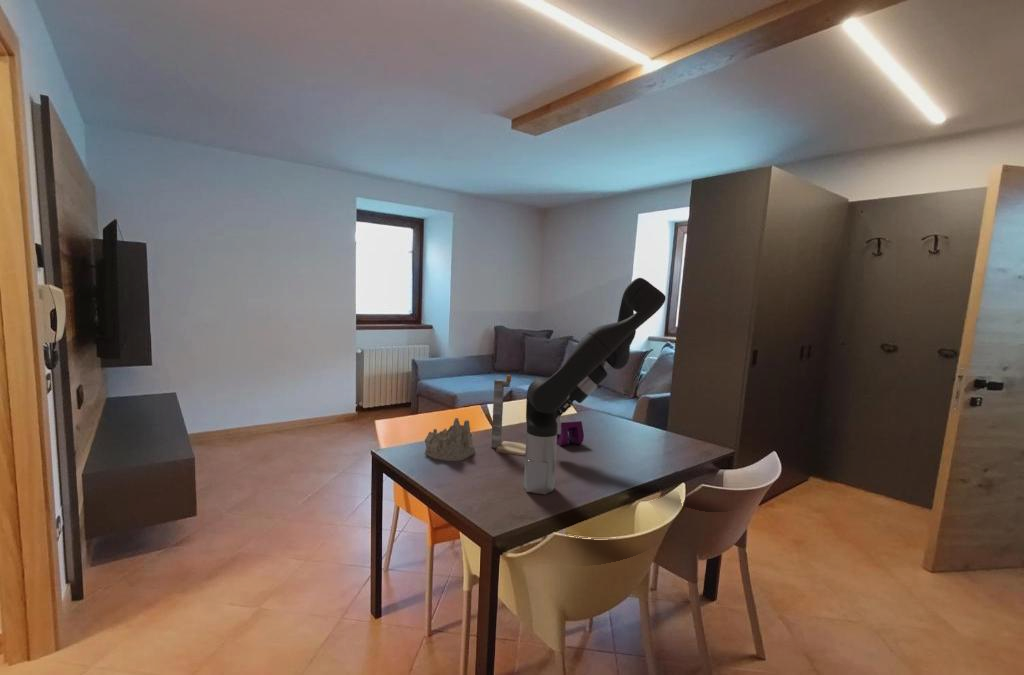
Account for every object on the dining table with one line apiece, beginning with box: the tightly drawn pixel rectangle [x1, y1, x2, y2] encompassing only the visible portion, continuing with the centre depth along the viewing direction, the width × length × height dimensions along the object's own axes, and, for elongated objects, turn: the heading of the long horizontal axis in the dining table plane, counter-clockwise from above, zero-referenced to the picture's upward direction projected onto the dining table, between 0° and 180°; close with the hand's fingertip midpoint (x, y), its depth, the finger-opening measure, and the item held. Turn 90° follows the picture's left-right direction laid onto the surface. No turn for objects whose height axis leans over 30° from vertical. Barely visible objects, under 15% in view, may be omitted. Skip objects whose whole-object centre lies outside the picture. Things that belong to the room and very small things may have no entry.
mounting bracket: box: [556, 420, 585, 446], centre depth 181 cm, size 10×8×18 cm
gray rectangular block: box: [556, 409, 562, 434], centre depth 161 cm, size 4×4×11 cm
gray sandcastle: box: [424, 417, 476, 462], centre depth 160 cm, size 16×16×15 cm
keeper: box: [490, 374, 526, 457], centre depth 167 cm, size 11×14×28 cm
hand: (549, 419), depth 162 cm, fingers closed on gray rectangular block, 4 cm apart
